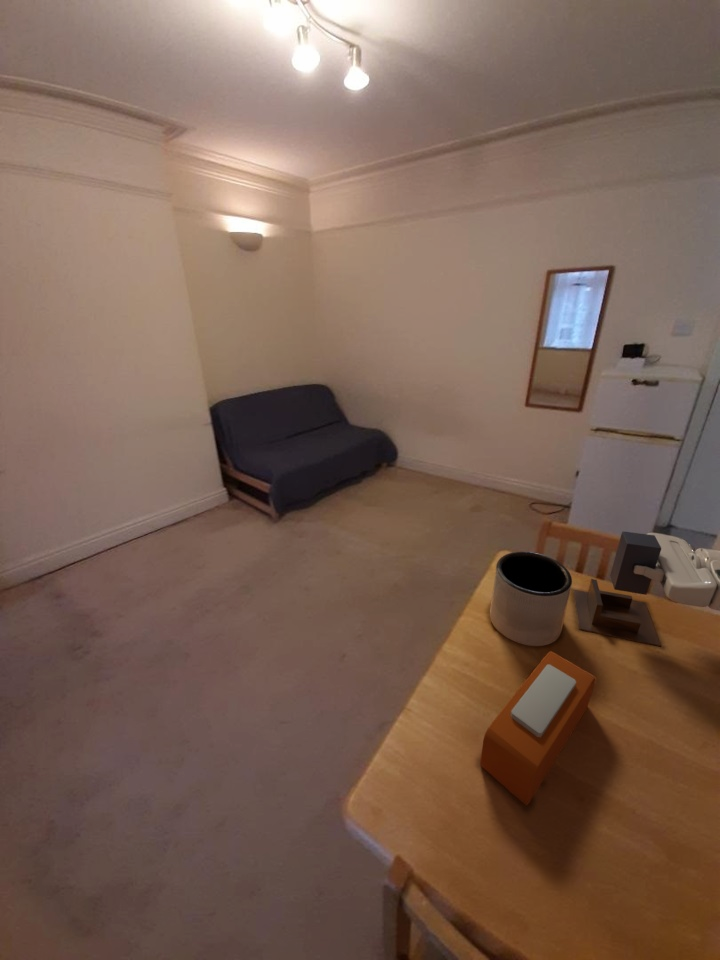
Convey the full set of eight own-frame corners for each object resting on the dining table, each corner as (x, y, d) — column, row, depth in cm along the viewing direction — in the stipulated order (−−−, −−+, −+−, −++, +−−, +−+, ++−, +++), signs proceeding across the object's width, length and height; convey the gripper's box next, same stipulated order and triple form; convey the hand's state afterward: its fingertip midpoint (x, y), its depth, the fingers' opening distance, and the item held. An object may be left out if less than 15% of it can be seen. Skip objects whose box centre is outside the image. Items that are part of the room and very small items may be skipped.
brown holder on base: (643, 607, 100) (651, 583, 97) (659, 650, 88) (669, 625, 85) (572, 594, 105) (577, 570, 102) (578, 633, 93) (584, 608, 90)
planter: (477, 626, 97) (483, 574, 90) (506, 591, 107) (513, 542, 100) (546, 662, 87) (558, 607, 80) (570, 619, 97) (582, 568, 90)
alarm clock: (544, 682, 82) (553, 641, 78) (587, 710, 77) (599, 668, 72) (478, 769, 68) (484, 727, 63) (525, 811, 62) (535, 768, 58)
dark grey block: (640, 580, 90) (654, 535, 85) (646, 595, 86) (661, 548, 81) (610, 575, 92) (622, 531, 87) (614, 589, 88) (627, 543, 83)
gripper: (695, 531, 89) (623, 522, 94) (736, 590, 72) (646, 576, 77) (686, 554, 92) (617, 544, 97) (724, 617, 75) (637, 601, 79)
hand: (630, 559), depth 86 cm, fingers closed on dark grey block, 5 cm apart
